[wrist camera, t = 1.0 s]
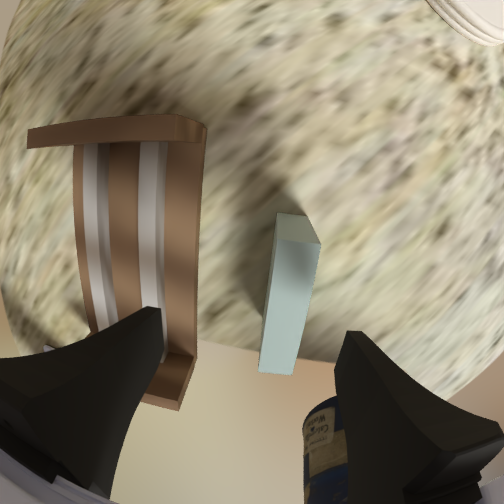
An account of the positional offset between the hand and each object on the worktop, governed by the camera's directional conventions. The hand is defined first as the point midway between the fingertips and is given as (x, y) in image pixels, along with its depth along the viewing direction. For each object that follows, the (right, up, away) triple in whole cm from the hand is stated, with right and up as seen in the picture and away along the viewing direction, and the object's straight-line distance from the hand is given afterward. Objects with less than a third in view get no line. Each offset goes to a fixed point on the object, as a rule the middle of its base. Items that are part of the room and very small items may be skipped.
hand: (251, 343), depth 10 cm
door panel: (+2, +2, +9) cm, 10 cm away
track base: (-9, +3, +10) cm, 13 cm away
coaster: (+18, +25, 0) cm, 31 cm away
